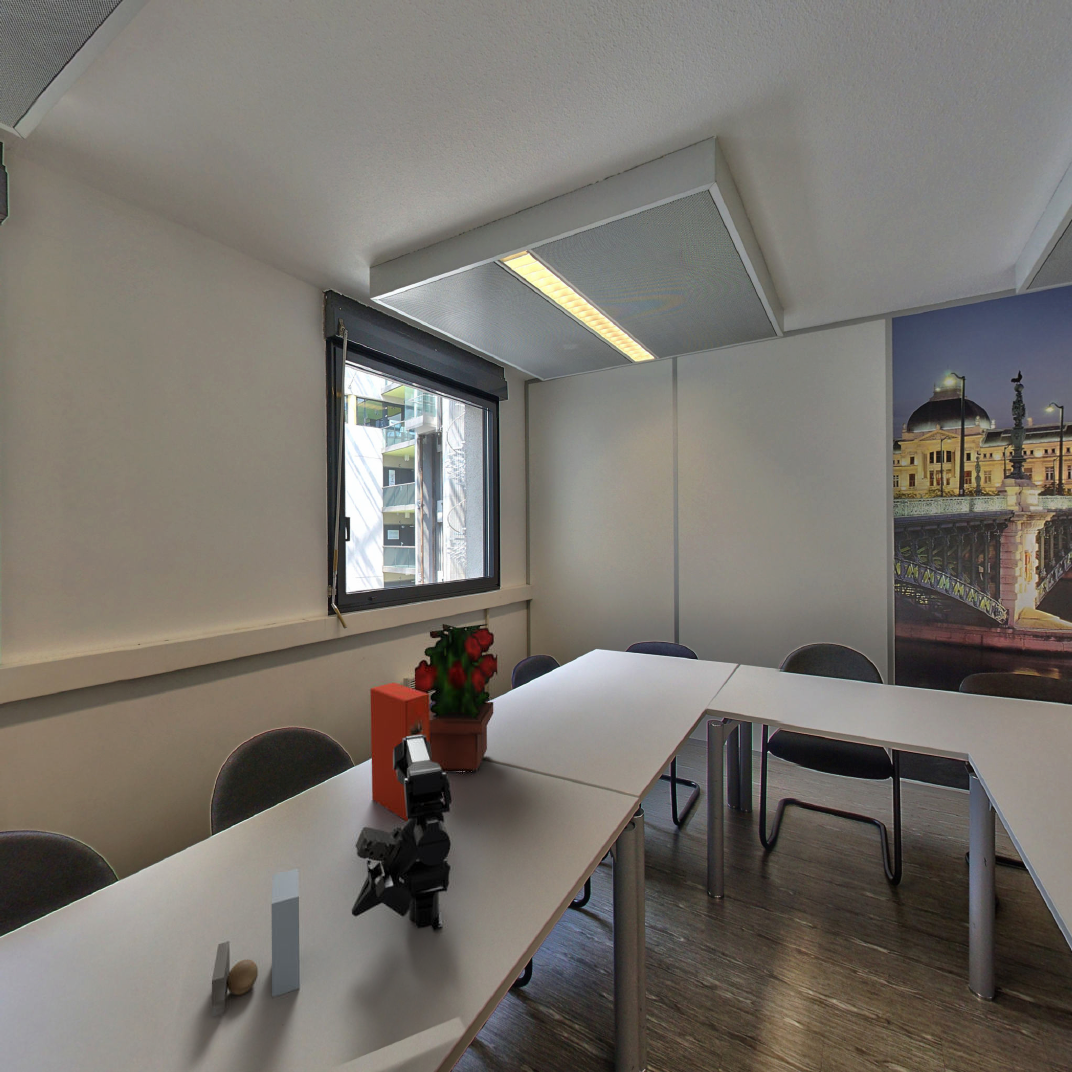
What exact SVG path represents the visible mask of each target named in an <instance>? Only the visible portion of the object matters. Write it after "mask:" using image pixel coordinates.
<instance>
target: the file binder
mask: <svg viewBox="0 0 1072 1072" xmlns="http://www.w3.org/2000/svg"><path fill="white" fill-rule="evenodd" d="M429 710H430V694H429V693H428V694H427V693H424V692H421V691H418V690H415V688H411V687H408V686H406V685H402V684H401V683H396V682H390V683H387V684H383V685H379V686H375V687H372V688H370V735H371V737H370V739H371V740H370V741H371V742H370V743H371V744H370V745H371V749H370V750H371V796H372V797H371V798H372V800H373V801H374V802H376V803H378V804H379V805H381V806H382V807H384V808H385V809H387V810H388V811H390V812H392V813H393V814H395V815H397V816H398V817H400V818H401V819H403V820H404V821H406V822H407V821H408V819H407V814H406V804H405V794H404V786H403V785H402V784H401V783H400V782H399V781H398V780H397V773H396V770H393V750H394V747H396V746H397V745H398V744H400V743H401V742H402V740H403V738H405V737H406V736H411V735H419V734H422V735H425V736H426V740H427V741H428V742H430V728H429Z"/></svg>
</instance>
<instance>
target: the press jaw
mask: <svg viewBox="0 0 1072 1072" xmlns="http://www.w3.org/2000/svg"><path fill="white" fill-rule="evenodd" d="M299 881H300V879H299V868H294V869H290V870H286V871H282V872H279V873H274V874H273V875H272V887H271V889H272V891H271V907H270V908H271V993H272V995H271V996H272V997H271V998H276V997H277V996H282V995H284V994H287V993H289V992H293V991H296V990H299V989H300V986H301V985H300V984H301V983H300V979H301V978H300V976H301V975H300V888H299V887H300V885H299V884H300V883H299Z"/></svg>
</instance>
